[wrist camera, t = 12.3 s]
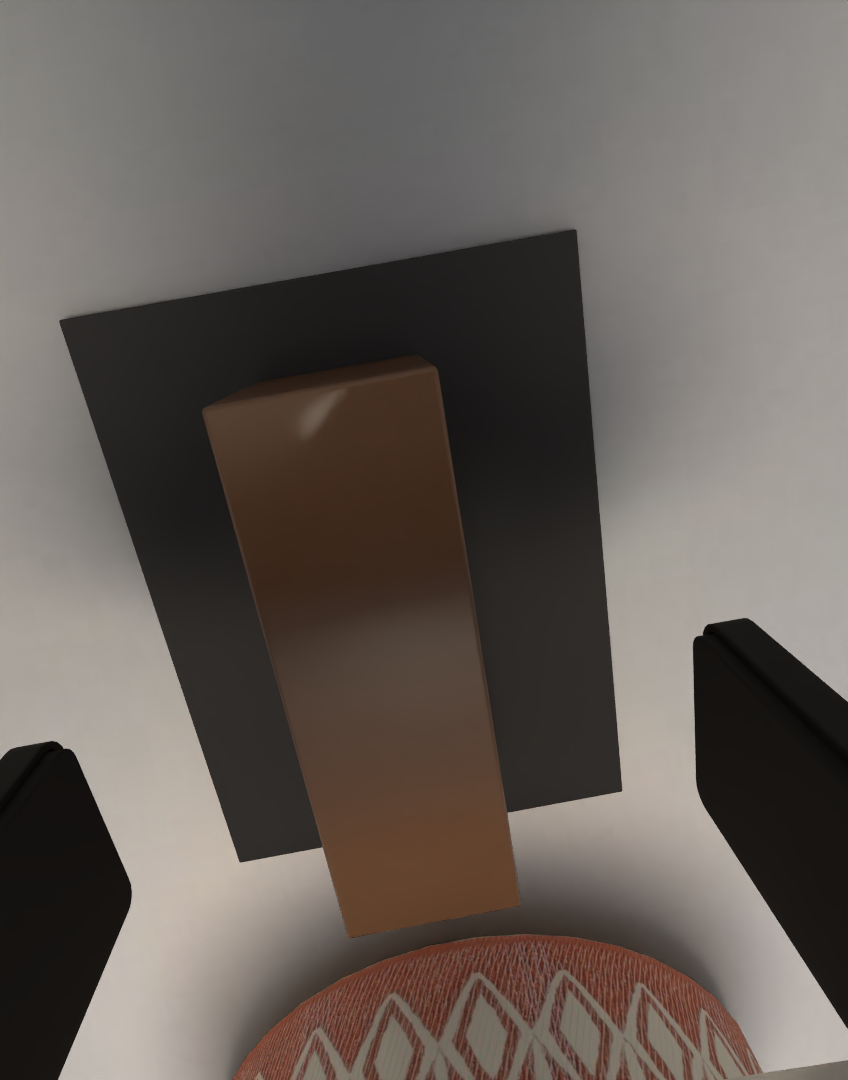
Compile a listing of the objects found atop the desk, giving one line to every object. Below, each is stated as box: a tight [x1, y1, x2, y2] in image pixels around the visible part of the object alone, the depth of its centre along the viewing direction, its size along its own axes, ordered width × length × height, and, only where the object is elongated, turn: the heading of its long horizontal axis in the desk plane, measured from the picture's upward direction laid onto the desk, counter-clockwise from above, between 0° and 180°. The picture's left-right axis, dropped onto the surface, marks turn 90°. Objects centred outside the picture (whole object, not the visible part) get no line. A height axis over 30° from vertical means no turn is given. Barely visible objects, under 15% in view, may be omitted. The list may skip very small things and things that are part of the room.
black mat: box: [59, 230, 622, 862], centre depth 17 cm, size 16×12×1 cm
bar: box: [202, 354, 521, 938], centre depth 15 cm, size 12×4×5 cm, turn 10°
